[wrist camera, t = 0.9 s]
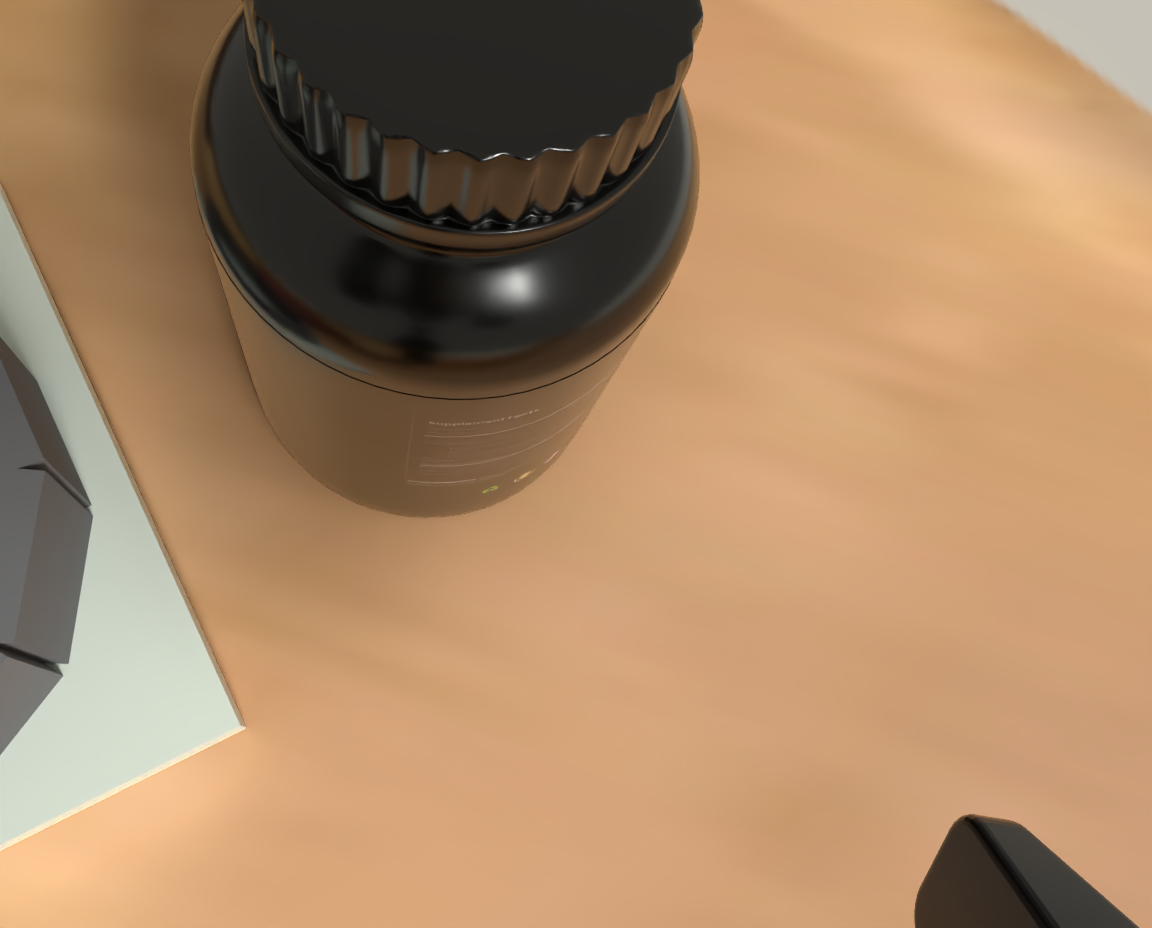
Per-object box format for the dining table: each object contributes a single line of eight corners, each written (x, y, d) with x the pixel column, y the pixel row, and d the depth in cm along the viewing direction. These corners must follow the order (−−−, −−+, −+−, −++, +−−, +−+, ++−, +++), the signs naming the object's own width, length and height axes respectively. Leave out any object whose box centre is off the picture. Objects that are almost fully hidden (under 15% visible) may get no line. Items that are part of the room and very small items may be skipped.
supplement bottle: (189, 301, 22) (-8, -220, 10) (481, 168, 24) (582, -392, 12) (361, 594, 21) (349, 370, 9) (650, 429, 23) (928, 80, 11)
